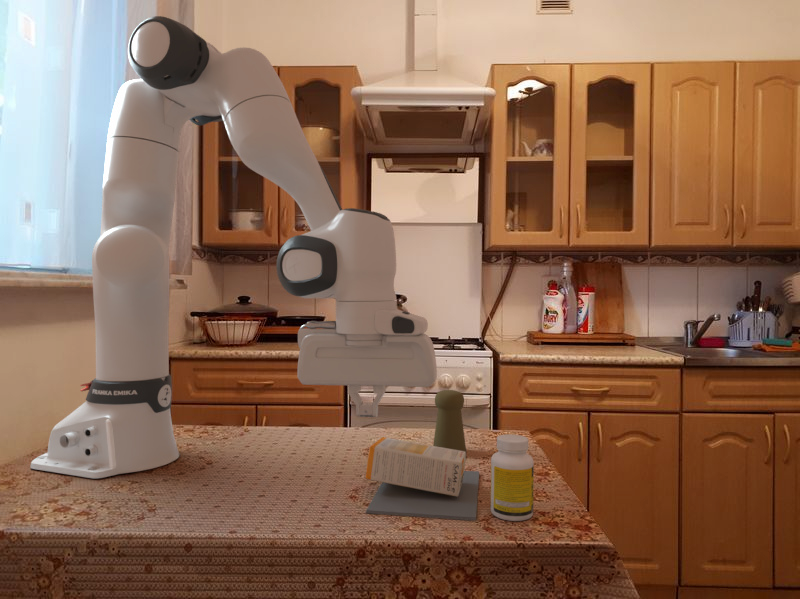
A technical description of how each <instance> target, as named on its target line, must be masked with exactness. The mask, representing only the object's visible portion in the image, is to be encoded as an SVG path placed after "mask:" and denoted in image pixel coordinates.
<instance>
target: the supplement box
mask: <svg viewBox="0 0 800 599" xmlns="http://www.w3.org/2000/svg"><path fill="white" fill-rule="evenodd" d="M466 458H467V451H466V452H465V451H459V450H454V449H448V448H442V447H436V446H433V445H430V444H424V443H419V442H412V441H406V440H402V439H395V438H391V437H385V436H384V437H383V436H382V437H381V438H379V439H378V440H377V441H375V442H374V443H373V444H371V445H370V446H369V449H368V454H367V460H366V461H367V462H366V468H365V469H366V470H365V478H364V479H366V480H370V481H375V482H379V483H382V482H384V483H389V484H394V485H399V486H405V487H410V488H415V489H420V490H425V491H431V492H436V493H441V494H446V495H451V496H456V497H458V495H459V492H460V489H461V486H462V483H463V477H464V471H465V468H466V460H467V459H466Z"/></svg>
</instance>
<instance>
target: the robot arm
mask: <svg viewBox="0 0 800 599" xmlns="http://www.w3.org/2000/svg"><path fill="white" fill-rule="evenodd" d="M127 46H128V47H127V56H128V60H129V65H130V66H131V68H132V70H133V71H134V72H135V73H136V75H137V76H138V77H139V78H136V79H132V80H131V79H130V80H128V81H126V82H125V83H123V84H122V85H121V86H120V88H119V90H118V91H117V92H118V93H117V95H116V98H115V101H114V105H113V108H112V112H111V117H110V122H109V127H108V133H107V139H106V141H107V142H106V150H105V151H106V152H105V159H104V169H103V170H104V171H103V178H102V179H103V180H102V189H101V190H102V192H101V193H102V196H101V198H102V200H101V220H100V236H99V237H98V239H97V241H96V242H95V244H94V246H93V249H92V254H91V270H92V271H91V273H92V276H91V277H92V297H93V308H94V309H93V312H94V314H93V315H94V326H95V327H94V328H95V330H94V331H95V378H94V379H92V380H91V381H90V382H87V383H81V384H80V387H83V388H81V389H80V392H86V391H88V392H87V395H86V397H85V402H83V403H82V404H81V405H79V406H78V407H77V408H76V409H74V410H73V411H72V412H71V413H69V414H68V415H67V416H65V417H64V418H63V419H61V420H60V421H59V422H58V423H56V424H55V425H54V427H52V430H51V431H50V435H49V438H48V445H47V452H45V453H43V454H40V455H39V456H37V457H36V458H34V459H33V460H32V461H30V462H31V463H30V469H32V470H39V471H45V472H50V473H57V474H63V475H69V476H74V477H75V476H76V477H82V478H87V479H103V478H107V477H108V478H109V477H111V476H116V475H122V474H129V473H135V472H141V471H147V470H152V469H156V468H158V467H162V466H165V465H167V464H170V463H172V462H174V461H176V460H177V459H178V458H179V457H180V452H179V449H178V445H177V442H176V439H175V435H174V434H175V433H174V428H173V423H172V422H173V421H172V416H171V414H172V413H171V406H172V399H173V398H172V397H173V390H172V389H173V387H172V385H173V384H172V375H171V374H170V371H169V370H170V364H169V360H170V358H169V357H170V356H169V353H170V351H169V348H170V347H169V345H170V344H169V343H170V342H169V330H170V329H169V324H170V319H169V318H170V244H171V243H170V241H171V234H172V225H173V215H174V214H173V213H174V209H175V208H174V207H175V198H176V191H177V190H176V189H177V181H178V180H177V178H178V169H179V159H180V146H181V136H182V132H183V131H182V130H183V128H184V126H185V124H186V123H187V122H188V121H190V122H192V123H193V124H194V125H196V126H205V125H208V124H209V123H219V122H220V123H222V122H223V126H224V127H225V131H226V133H227V136H228V139H229V141H230V144H231V145H232V147H233V149H234V151H235V153H236V154H237V156H238V157H239V159H240V160H241V162H242V163H243V164H244V165H245V166H246V167H247V168H248V169H250V170H251V171H253V172H255V173H256V174H258V175H260V176H262V177H263V178H264V179H266V180H268V181H270V182H272V183H273V184H275V185H276V186H278V187H279V188H280V189H282V190H283V191H285V192H286V193H287V194H288V195H289V196H291V198H292V199H293V200H294V201H295V202H296V203H297V205H298V206H299V208H300V210H301V212H302V214H303V216H304V218H305V220H306V223H307V225H308V227H309V229H310V231H308V232H305V233H303V234H298V235H294V236H292V237H289V238H288V239H287V240H286V241H285V242H284V243H283V245H282V246H281V248H280V249H279V251H278V254H277V257H276V258H277V259H276V265H275V266H276V274H277V278H278V280H279V282H280V285H281V287H282V288H283V289H284V290H285V291H286V292H287V293H289V295H292V296H295V297H299V298H303V299H321V300H322V299H323V300H324V299H335V320H323V321H317V320H311V321H307V322H306V323H305V324H303V325H301V326H300V328H299V329H298V331H297V345H298V346H297V347H298V348H299V353H298V359H297V360H298V361H297V372H296V374H297V379H298V380H299V382H300V383H301V384H302V385H308V386H348V390H347V391H348V395H349V397H350V398H351V400H352V402H353V404H354V405H355V414H356V417H357V418H358V417H359V418H360V417H361V418H363V417H365V418H377V417H378V415H379V404H380V403H381V400H382V398H383V396H384V395H385V393H386V391H387V390H386V387H406V388H407V387H408V388H410V387H411V388H413V387H414V388H429V387H431V386H432V385H433V384H435V382H436V381H437V379H438V378H437V377H438V375H437V374H438V373H437V372H438V370H437V358H436V352H435V347H434V343H433V341H432V339H431V337H430V336H429V335H427V334H426V332H427V331H428V320H427V318H425V317H424V316H420V315H418V314H414V313H410V312H409V311H404V310H400V309H398V304H397V303H398V302H397V294H396V291H395V287H394V283H395V277H396V274H397V253H396V252H397V250H396V239H395V231H394V228H393V227H394V226H393V224H392V221H391V220H390V219H389V218H388V216H386V215H385V214H383V213H380V212H377V211H371V210H367V209H361V208H352V207H350V208H348V207H347V208H344V209H343V208H342V206H341V203H340V201H339V200H338V198H337V196H336V194H335V192H334V189H333V187H332V185H331V183H330V181H329V179H328V177H327V175H326V173H325V171H324V170H323V168H322V167H321V164H320V162H319V160H318V159H317V156H316V155H315V154H314V151H313V150H312V147H311V146H310V143H309V142H308V140H307V137H306V135H305V133H304V130H303V129H302V126H301V124H300V121H299V119H298V117H297V114H296V112H295V109H294V107H293V104H292V102H291V100H290V97H289V94H288V92H287V90H286V88H285V86H284V84H283V82H282V79H281V78H280V76H279V75H278V74H277V71H276V70H275V68H274V66H273V65H272V64H271V62H270V60H269V59H268V58H267V57H266V55H265V54H264V53H262V52H260V51H259V50H257V49H255V48H250V47H236V48H234V49H231V50H228V51H226V52H223V53H222V52H221V51H220V50H218V49H217V48H216V47H215V46H214V45H213V44H211V43H210V42H207V41H206V40H205V39H204V38H202V36H200V35H199V34H198V33H196V32H194V31H193V30H192V29H190V27H188V26H187V25H185V24H184V23H181V22H179V21H177V20H175V19H172V18H169V17H167V16H163V15H162V16H161V15H157V16H152V17H151V16H150V17H148V18H146V19H144V20H143V21H142V22H140V23H139V24H138V25H137V26H136V28H134V30H133V31H132V34H131V36H130V38H129V41H128V44H127ZM362 387H372V388H373V392H372V393H373V394H376V396H375V398H374V400H372V402H364V400H363V399H362V397H361V395H360V393H359V392H360V391H361V390H362Z"/></svg>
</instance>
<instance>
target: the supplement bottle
mask: <svg viewBox="0 0 800 599" xmlns="http://www.w3.org/2000/svg"><path fill="white" fill-rule="evenodd" d="M496 449H497V450H498V451H496V452H495V453H493V454H492V456H491V459H490V513H491V514H492V515H493V516H494V517H496V518H498V519H501V520H504V521H510V522H521V521H526V520H529V519H531V518H532V516H533V515H534V478H535V477H534V475H535V474H534V473H535V472H534V470H535V469H534V468H535V467H534V466H535V464H534V459H533V456H531V455H530V454H528V453H527V452H528V450H529V438H528V437H526V436H524V435H520V434H513V433H512V434H511V433H509V434H508V433H507V434H500V435H498V436H496Z"/></svg>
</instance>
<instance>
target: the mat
mask: <svg viewBox="0 0 800 599" xmlns="http://www.w3.org/2000/svg"><path fill="white" fill-rule="evenodd" d="M479 481H480V471H478V470H464V477H463V483H462V486H461V489H460V492H459V495H458V497H456V496H451V495H446V494H441V493H436V492H431V491H425V490H420V489H415V488H410V487H405V486H399V485H394V484H389V483H384V482H381V483H380V484H379V487H378V489H377V490H376V492H375V494H374V496H373V497H372V499H371V501H370V502H369V505H368V506H367V508H366V509H365V513H366V514H370V515H371V514H372V515H374V514H375V515H388V516H401V517H417V518H429V519H430V518H432V519H445V520H446V519H447V520H457V521H458V520H461V521H475V522H476V521H477V512H478V511H477V509H478V496H479Z"/></svg>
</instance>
